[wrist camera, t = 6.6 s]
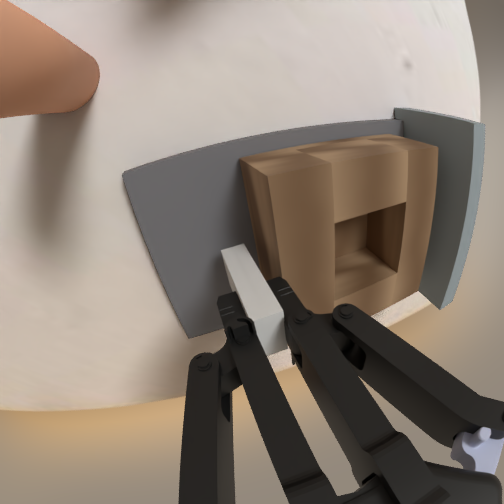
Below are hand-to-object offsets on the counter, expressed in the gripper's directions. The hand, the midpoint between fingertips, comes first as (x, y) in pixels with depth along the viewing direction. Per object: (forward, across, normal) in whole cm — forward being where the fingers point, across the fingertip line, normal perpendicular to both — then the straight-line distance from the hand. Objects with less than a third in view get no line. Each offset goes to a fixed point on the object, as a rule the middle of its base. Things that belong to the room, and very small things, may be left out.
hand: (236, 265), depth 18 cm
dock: (+3, +6, 0) cm, 6 cm away
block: (+2, +8, 0) cm, 8 cm away
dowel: (+3, -7, +14) cm, 16 cm away
